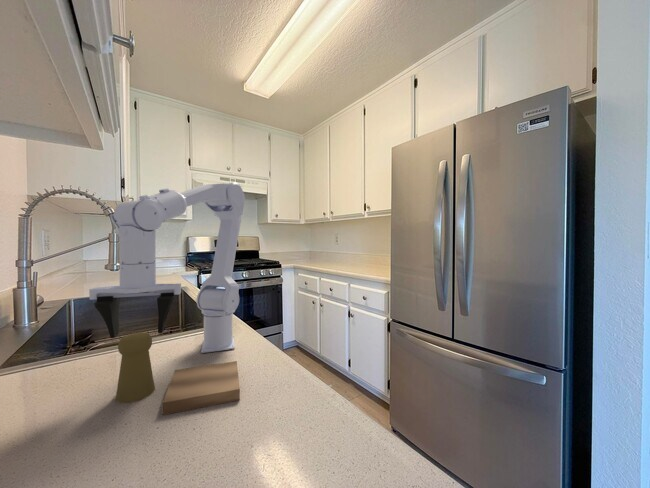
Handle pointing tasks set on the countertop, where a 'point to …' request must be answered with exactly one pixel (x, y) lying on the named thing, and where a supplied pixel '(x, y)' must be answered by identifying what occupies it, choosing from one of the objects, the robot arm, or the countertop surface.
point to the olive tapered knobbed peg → (135, 368)
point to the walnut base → (202, 387)
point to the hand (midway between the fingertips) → (138, 333)
